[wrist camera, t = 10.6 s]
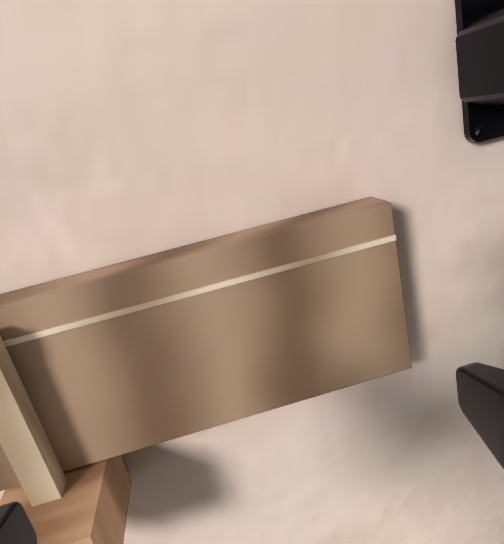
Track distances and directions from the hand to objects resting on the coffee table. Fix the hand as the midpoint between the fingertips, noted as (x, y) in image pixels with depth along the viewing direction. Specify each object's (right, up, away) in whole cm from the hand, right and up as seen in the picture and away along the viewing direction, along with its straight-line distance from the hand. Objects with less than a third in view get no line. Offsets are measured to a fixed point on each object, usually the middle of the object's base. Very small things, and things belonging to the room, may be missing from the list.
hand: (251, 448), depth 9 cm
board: (-4, 0, +12) cm, 13 cm away
